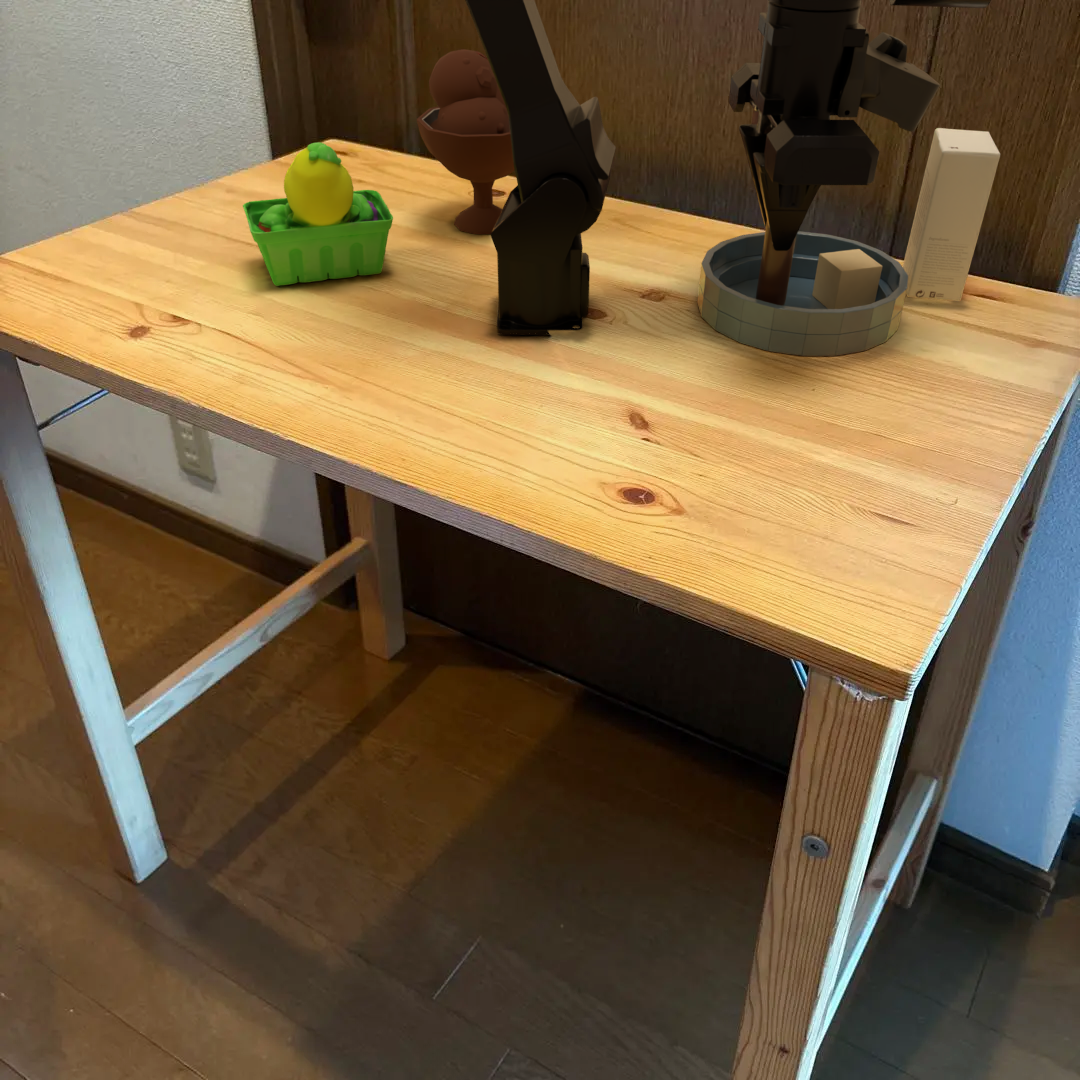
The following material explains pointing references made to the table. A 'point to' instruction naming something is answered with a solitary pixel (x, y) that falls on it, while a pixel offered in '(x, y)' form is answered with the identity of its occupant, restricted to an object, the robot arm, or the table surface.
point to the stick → (774, 272)
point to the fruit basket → (320, 223)
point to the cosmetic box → (949, 213)
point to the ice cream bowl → (469, 132)
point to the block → (846, 279)
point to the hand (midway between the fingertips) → (778, 243)
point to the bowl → (796, 299)
